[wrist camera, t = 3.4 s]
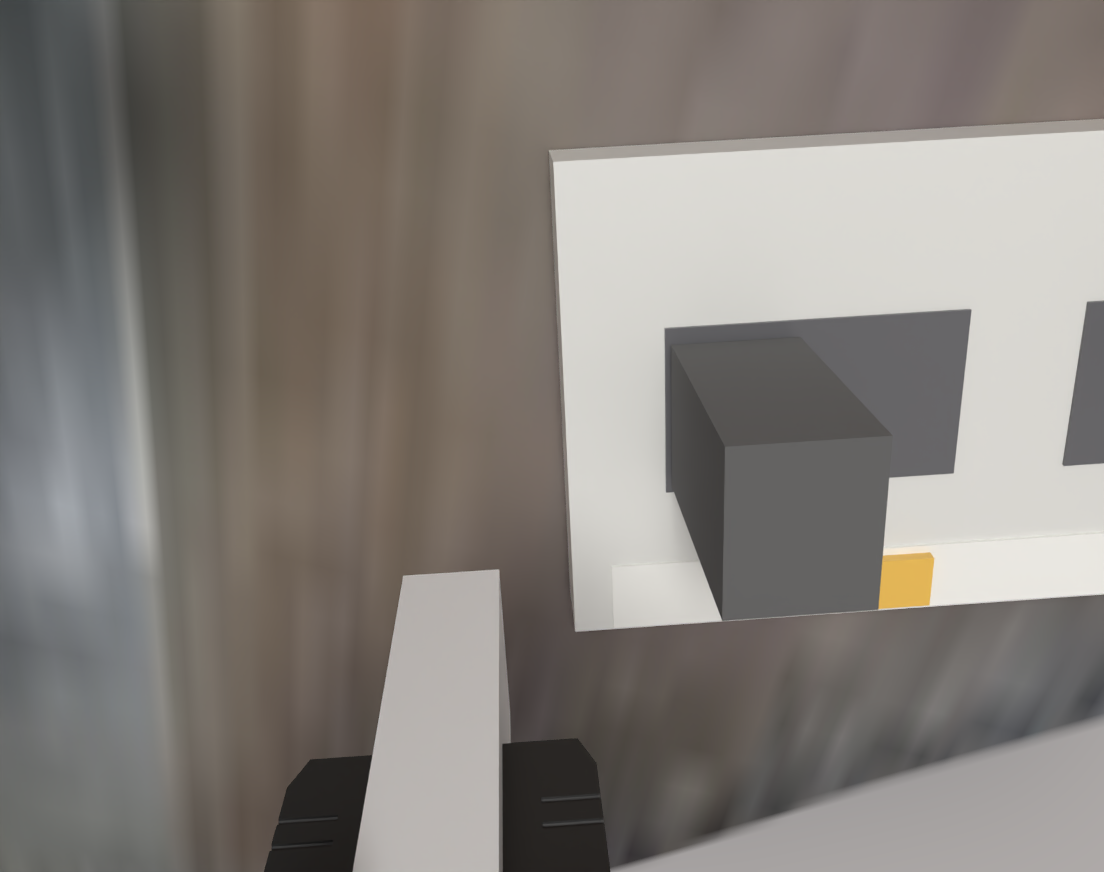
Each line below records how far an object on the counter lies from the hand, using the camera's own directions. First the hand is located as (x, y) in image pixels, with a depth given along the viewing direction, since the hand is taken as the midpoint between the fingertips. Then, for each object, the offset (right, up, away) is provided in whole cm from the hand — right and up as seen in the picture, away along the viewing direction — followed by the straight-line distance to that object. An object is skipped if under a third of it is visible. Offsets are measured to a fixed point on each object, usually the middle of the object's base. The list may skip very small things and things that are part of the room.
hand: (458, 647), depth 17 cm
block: (+6, +4, +8) cm, 11 cm away
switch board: (+18, +6, +11) cm, 21 cm away
